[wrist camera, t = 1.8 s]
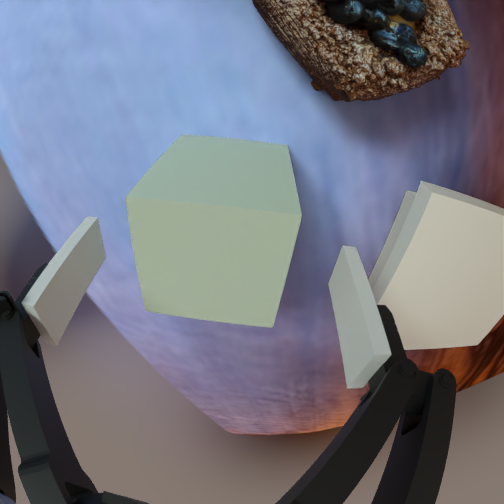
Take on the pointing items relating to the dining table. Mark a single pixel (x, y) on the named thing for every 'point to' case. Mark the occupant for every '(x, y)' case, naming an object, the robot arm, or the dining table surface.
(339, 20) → the pastry
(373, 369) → the robot arm
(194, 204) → the sage block
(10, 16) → the dining table surface
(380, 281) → the serving stand
